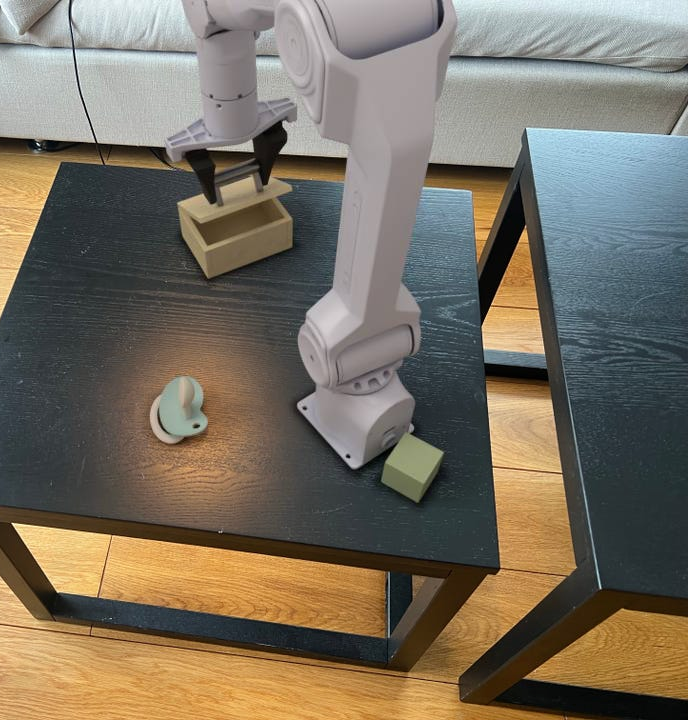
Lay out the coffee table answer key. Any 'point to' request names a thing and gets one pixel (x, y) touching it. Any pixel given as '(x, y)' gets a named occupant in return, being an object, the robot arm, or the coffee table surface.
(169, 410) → the pacifier
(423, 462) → the block
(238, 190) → the lid
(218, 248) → the wooden box
